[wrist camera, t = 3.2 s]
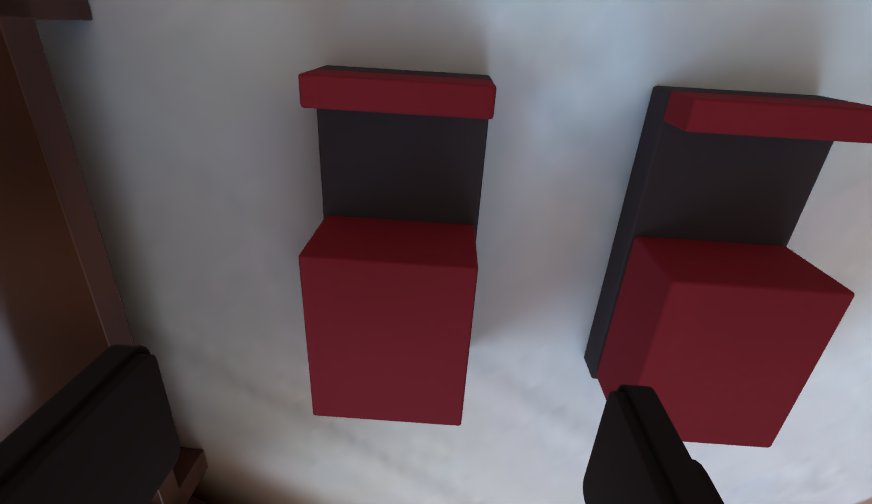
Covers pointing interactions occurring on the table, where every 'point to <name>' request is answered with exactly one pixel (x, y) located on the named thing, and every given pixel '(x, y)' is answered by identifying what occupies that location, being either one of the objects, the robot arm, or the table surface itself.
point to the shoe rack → (52, 241)
